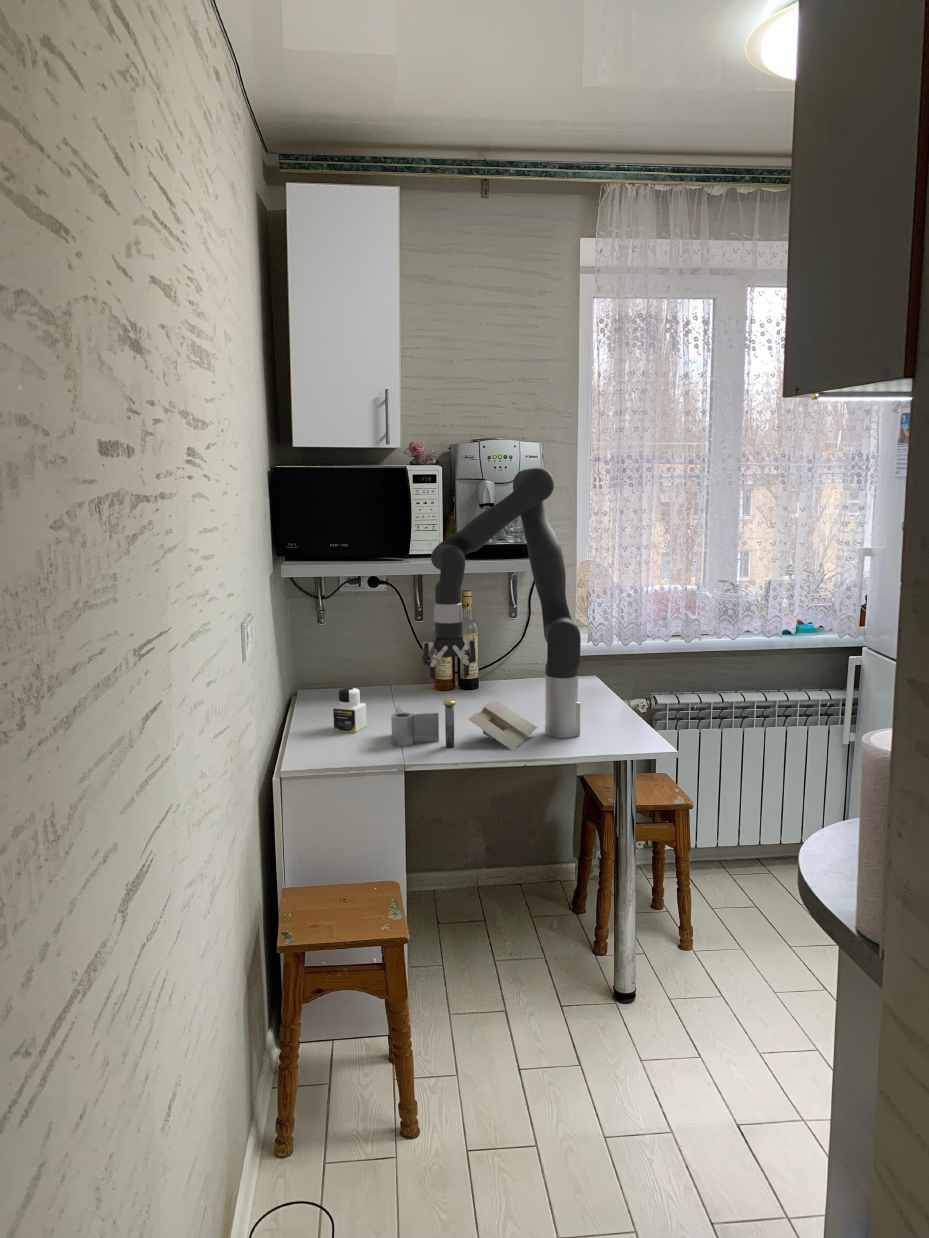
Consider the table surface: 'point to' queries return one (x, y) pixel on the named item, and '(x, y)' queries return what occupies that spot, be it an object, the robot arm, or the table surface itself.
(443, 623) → the robot arm
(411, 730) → the hinge
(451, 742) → the pin
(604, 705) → the table surface
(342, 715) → the medicine bottle
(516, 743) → the beige folded piece
